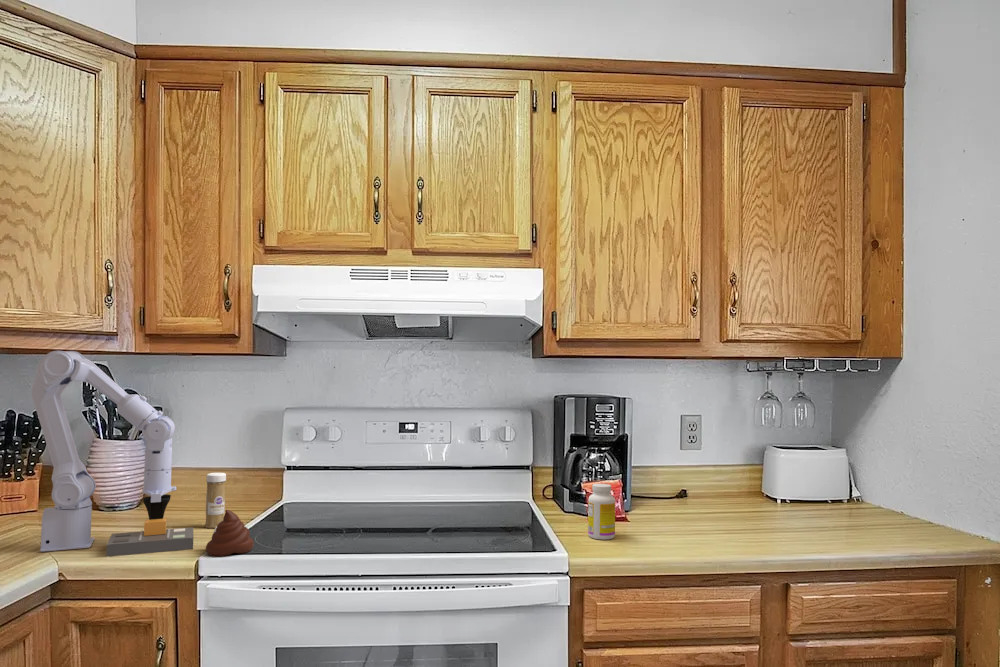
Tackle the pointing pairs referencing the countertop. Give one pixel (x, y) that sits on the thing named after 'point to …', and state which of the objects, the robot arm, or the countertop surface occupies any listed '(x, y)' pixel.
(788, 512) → the countertop surface
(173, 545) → the grey block
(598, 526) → the supplement bottle
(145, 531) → the block
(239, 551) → the poop emoji
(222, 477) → the sprinkles bottle
